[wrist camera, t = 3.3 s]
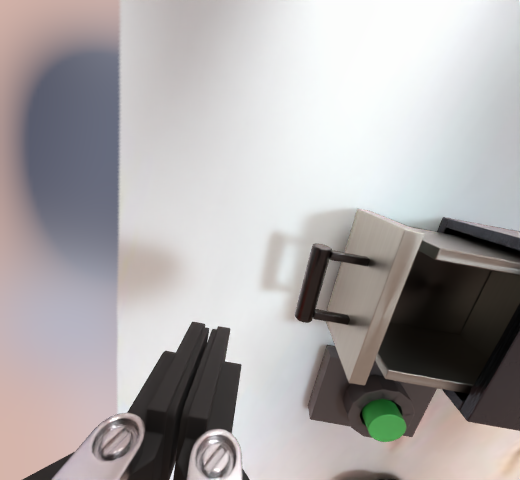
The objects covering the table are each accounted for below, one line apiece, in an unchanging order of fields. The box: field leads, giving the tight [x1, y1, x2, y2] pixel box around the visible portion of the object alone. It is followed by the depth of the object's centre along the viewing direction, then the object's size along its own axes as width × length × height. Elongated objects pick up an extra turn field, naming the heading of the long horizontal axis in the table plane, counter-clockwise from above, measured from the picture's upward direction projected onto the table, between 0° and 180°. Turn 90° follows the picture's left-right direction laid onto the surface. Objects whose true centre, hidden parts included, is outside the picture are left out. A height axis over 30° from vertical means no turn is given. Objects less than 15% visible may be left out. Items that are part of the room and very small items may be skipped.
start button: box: [362, 399, 406, 442], centre depth 24 cm, size 4×4×2 cm
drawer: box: [295, 209, 520, 394], centre depth 19 cm, size 18×11×8 cm, turn 80°
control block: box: [308, 345, 437, 438], centre depth 26 cm, size 12×9×4 cm
